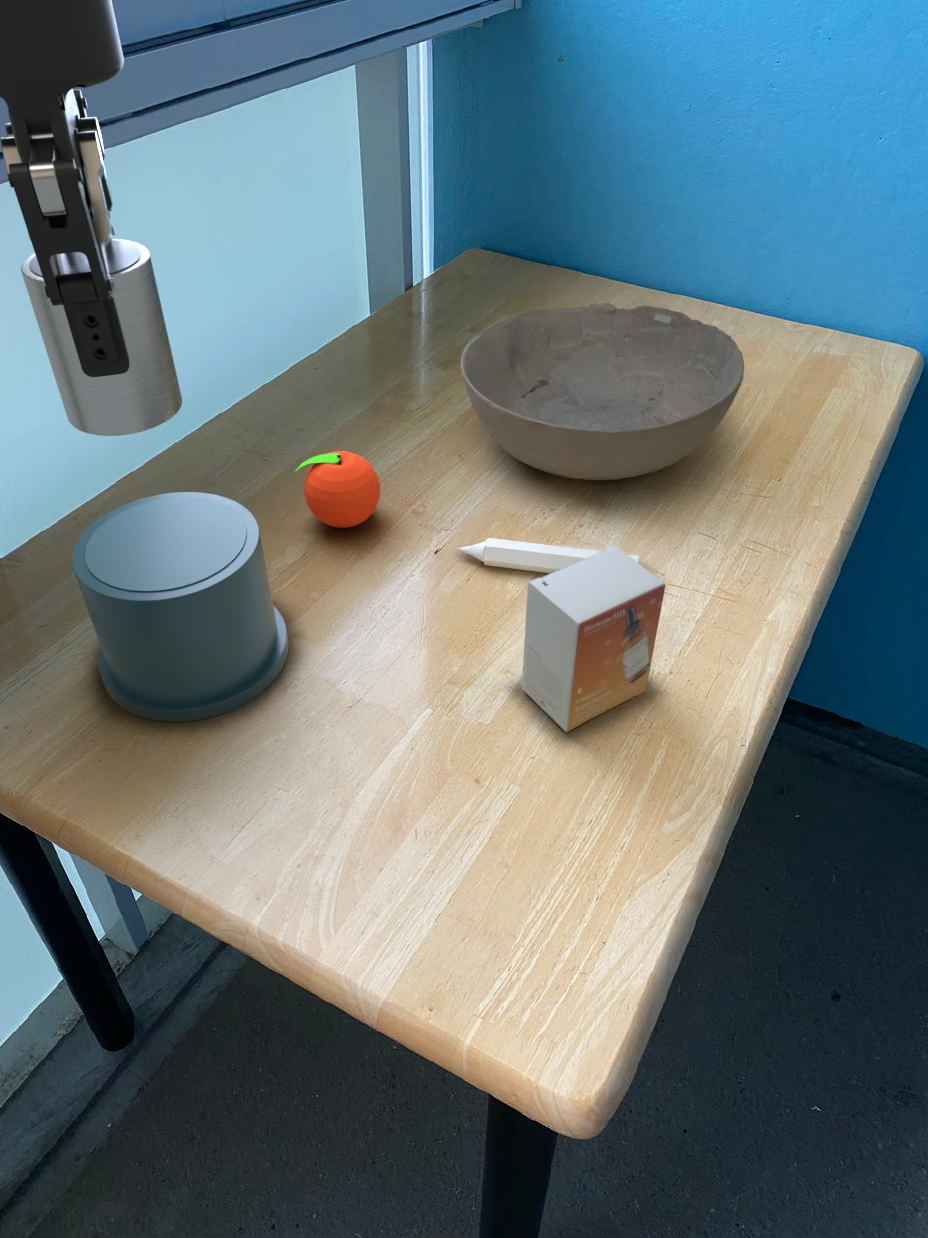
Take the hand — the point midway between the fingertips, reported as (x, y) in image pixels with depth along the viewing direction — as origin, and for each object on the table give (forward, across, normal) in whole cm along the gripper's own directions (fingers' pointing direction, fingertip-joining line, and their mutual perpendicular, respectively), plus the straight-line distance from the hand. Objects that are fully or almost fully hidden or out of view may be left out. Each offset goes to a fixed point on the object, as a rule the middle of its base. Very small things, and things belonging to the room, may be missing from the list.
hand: (107, 343), depth 48 cm
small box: (+30, +4, +27) cm, 41 cm away
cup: (+4, 0, 0) cm, 4 cm away
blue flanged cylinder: (+30, -9, 0) cm, 31 cm away
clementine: (+30, -23, +14) cm, 40 cm away
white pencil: (+30, -11, +30) cm, 43 cm away
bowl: (+30, -30, +42) cm, 59 cm away
